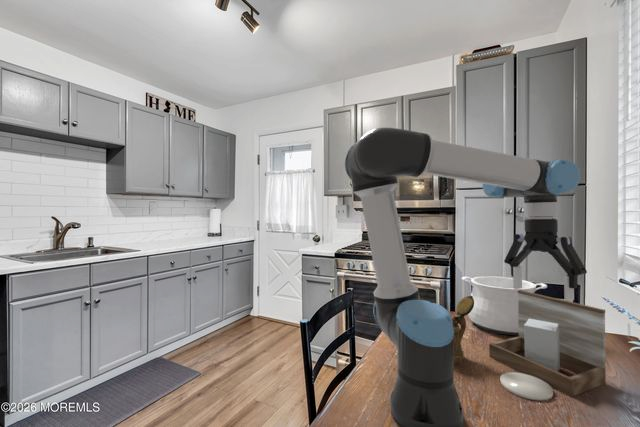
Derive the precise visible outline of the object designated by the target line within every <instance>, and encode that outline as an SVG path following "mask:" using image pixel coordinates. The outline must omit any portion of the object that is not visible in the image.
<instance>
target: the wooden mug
mask: <svg viewBox="0 0 640 427" xmlns="http://www.w3.org/2000/svg"><path fill="white" fill-rule="evenodd" d="M473 307H474V299H473V297H472V296H471V295H467V296H465V297H463V298H462V299H460V300H459V302H458V303H457V306H456V314H455V315H454V316H453V318H452V321H453V327H454V337H453V356H454V364H457V363H461V362H462V361H464V359H465V355H464V351H463V349H462V338H464V337H463V336H464V334H465V332H466V328H467V321H466V318H465V316H469V315H468V314H469V313H470V312H471V311H472V309H473Z"/></svg>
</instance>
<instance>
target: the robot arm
mask: <svg viewBox="0 0 640 427" xmlns="http://www.w3.org/2000/svg"><path fill="white" fill-rule="evenodd" d="M344 169H345V172H346V175H347V176H348V178H349V179H350V180H351V185H352V189H353V194H354V195H355V196H358V197H359V198H360V201H361V202H360V203H361V205H362V206H361V207H362V211H363V216H364V221H365V226H366V233H367V237H368V242H369V243H368V244H369V247H370V253H371V257H372V263H373V267H374V272H375V278H376V284H377V286H376V288H375V289H374V291H373V298H374V303H373V306H372V307H373V308H372V311H373V317H374V320H375V323H376V325H377V326H378V328H379V329H380V330H381V332H382V333H383V334H385V336H386V337H388V339H389V340H390V342H391V343H393V345H394V346H395V347H396V349H397V376H396V379H395V383H394V385H393V390H392V392H391V395H390V400H389V401H390V402H389V403H390V404H389V405H390V407H389V410H390V413H391V416H392V417H393V419H394V420H395V422H397V424H398V425H400V426H401V427H464V410H463V405H462V403H461V402H460V397H459V394H458V391H457V388H456V386H455V380H454V379H455V376H454V374H455V373H454V372H455V370H454V364H455V363H454V356H453V337H454V327H453V321H452V319H453V318H452V315H451V313H450V311H449V310H448V309H446V308H445V307H444V306H442V305H440V304H438V303H435V302H431V301H428V300H424V299H421V298H420V292H419V288H418V286H417V284H415V283H414V282H413V281H411V278H410V272H409V267H408V261H407V256H406V251H405V246H404V240H403V236H402V230H401V225H400V221H399V214H398V210H397V209H398V208H397V203H396V198H395V193H394V191H395V190H396V188H397V186H398V185H399V182H398V177H399V176H400V177H401V176H403V177H404V176H406V177H414V178H420V177H421V176H423V175H429V176H435V177H440V178H447V179H452V180H458V181H464V182H465V181H466V182H470V183H475V184H482V191H483V192H484V194H485V195H486V196H487V197H489V198H496V199H499V198H500V199H501V198H523V207H524V208H523V209H524V210H523V211H524V212H523V216H524V217H525V219H524V231H525V234H523V233H515V234H514V235H513V242H512V244H511V246H510V248H509V250H508V252H507V254H506V256H505V259H504V261H503V262H504V263H505V264H507V265H510V275H511V278H513V284H514V289H520V288H522V280H523V266H521V263H523V261H524V260H526V258H527V257H528V256H529V255H530V254H531V253H532V252H542V253H547V254H549V255H551V256H552V257H553V259H554V260H555V261H556V262H557V264H558V265H559V266H560V267H561V268H562V269H563V270H564V272H565V273H566V274H564V275H563V285H564V286H563V288H564V289H563V293H564V294H563V296H564V299H563V300H565V301H569V302H572V301H575V289H577V288H578V276H580V275H585V274H587V273H588V271H587V269H586V266H585V265H584V264H583V261H582V260H581V258H580V256H579V255H578V252H577V251H576V249H575V248H574V246H573V241H572V238H571V236H561V237H559V236H558V232H559V230H558V228H559V227H558V225H559V224H558V221H559V220H557V218H556V217H558V195H560V194H566V193H571V192H572V191H573V190H575V189H576V188H577V187H578V185H579V184H580V179H581V172H580V168H579V166H578V165H577V164H576V163H575V162H574V161H572V160H570V159H554V160H551V161H547V160H546V161H545V160H541V159H534V158H528V157H522V156H518V155H514V154H513V155H512V154H507V153H502V152H498V151H497V152H496V151H492V150H487V149H481V148H477V147H472V146H466V145H462V144H455V143H449V142H446V141H440V140H435V139H432V136H431V135H430V134H429V133H424V132H419V131H414V130H409V129H408V130H407V129H403V128H395V127H378V128H373V129H371V130H369V131H367V132H366V133H364V134H363V135H362V136H361V138H360V139H359V140H357V141H355V143H353V144H352V145H351V147H350V148H349V149H348V151H347V153H346V156H345V159H344ZM523 242H526V243H525V245H524V246H523V247H522V245H523ZM557 244H559V245H561V248H562V250H563V252H564V254H565V255H564V254H563V252H561V249H560V248H559V247H558V245H557ZM521 247H522V249H521ZM520 249H521V250H520ZM519 251H520V252H519ZM518 252H519V253H518Z"/></svg>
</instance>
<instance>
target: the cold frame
mask: <svg viewBox="0 0 640 427" xmlns="http://www.w3.org/2000/svg"><path fill="white" fill-rule="evenodd" d="M528 319H535V320H540V321H545V322H551V323H557V324H559V352H560V368H563V369H566V370H568V371H570V372H572V373H575V374H574V375H572V376H569V375H567V374H564V373H561V372H560V371H559V372H557V371H555V370H552V369H550V368H548V367H546V366H543V365H541V364H539V363H536V362H534V361H532V360H529V359H527V358H525V356H523V355H521V354H517V352H520V351H523V352H525V338H524V324H525V323H526V322H527V321H528ZM518 321H519V336H514V337H510V338H507V339H503V340H499V341H495V342H490V343H489V345H488V348H489V350H488V351H489V358H491V359H493V360H496V361H497V362H500V363H502V364H504V365H506V366H507V367H510V368H512V369H514V370H516V371H518V372H519V373H523V374H527V375H531V376H534V377H536V378H538V379H541V380H543V381H544V382H546V383H547V384H549V385H550V386H551V388H552V389H555V390H557V391H558V392H561V393H563V394H566V395H568V396H569V397H575V396H577V395H580V394H583V393H585V392H588V391H591V390H593V389H596V388H597V387H601V386H602V385H605V384H607V383H606V380H607V378H606V377H607V376H606V375H607V373H606V309H603V308H599V307H595V306H590V305H586V304H582V303H577V302H572V301H565V300H564V299H560V298H555V297H552V296H547V295H543V294H539V293H535V292H534V293H531V292H526V291H522V290H518Z"/></svg>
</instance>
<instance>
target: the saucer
mask: <svg viewBox="0 0 640 427" xmlns="http://www.w3.org/2000/svg"><path fill="white" fill-rule="evenodd" d="M499 379H500V380H499V381H500V384H501V386H502V387H503V388H504V389H505V390H506V391H508V392H510V393H511V394H513V395H515V396H517V397H520V398H524V399H527V400H531V401H538V402H539V401H540V402H541V401H542V402H543V401H549V400H551V399H553V397H554V388H553V387H551V386H550V385H549V384H547V383H546V382H544V381H543V380H541V379H538V378H536V377H534V376H531V375H527V374H524V373H522V372H515V371H513V372H505V373H503V374H501V375H500V377H499Z"/></svg>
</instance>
